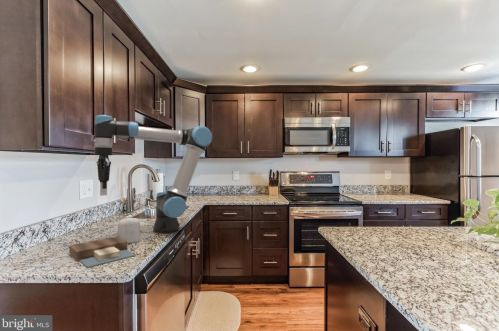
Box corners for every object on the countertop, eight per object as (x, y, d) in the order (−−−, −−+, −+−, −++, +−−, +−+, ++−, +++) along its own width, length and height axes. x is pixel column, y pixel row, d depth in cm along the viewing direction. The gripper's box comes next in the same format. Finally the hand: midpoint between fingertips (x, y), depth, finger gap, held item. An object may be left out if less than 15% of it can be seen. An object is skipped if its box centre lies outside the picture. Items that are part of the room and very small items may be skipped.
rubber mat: (125, 250, 121) (125, 249, 121) (134, 256, 114) (134, 255, 114) (80, 261, 107) (80, 260, 107) (87, 268, 101) (87, 266, 101)
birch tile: (113, 252, 117) (113, 246, 117) (120, 256, 112) (120, 250, 111) (93, 256, 111) (93, 250, 111) (99, 261, 106) (99, 255, 106)
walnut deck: (117, 244, 130) (117, 236, 130) (127, 250, 122) (127, 241, 122) (69, 254, 115) (69, 245, 115) (76, 261, 107) (76, 251, 107)
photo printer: (138, 239, 138) (139, 216, 137) (140, 242, 134) (140, 217, 134) (117, 243, 132) (117, 218, 132) (118, 245, 128) (118, 220, 128)
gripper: (90, 147, 130) (90, 194, 130) (99, 146, 121) (99, 197, 122) (107, 148, 136) (107, 193, 136) (116, 147, 127) (116, 195, 127)
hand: (103, 195), depth 129 cm, fingers closed
